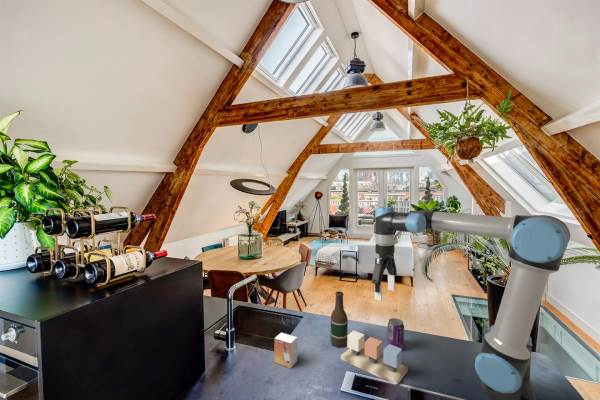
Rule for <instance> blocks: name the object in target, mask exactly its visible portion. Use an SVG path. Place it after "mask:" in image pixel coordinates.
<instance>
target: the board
mask: <svg viewBox="0 0 600 400" xmlns="http://www.w3.org/2000/svg"><path fill="white" fill-rule="evenodd" d="M364 352H365V347H363V348H362V349H361V350H360V351H359V352H357V351H355V350H353V349H350V348H348V349H347V350H346V351H345V352H343V353H342V354H341V355H340V360H341V361H344V362H346V363H348V364H350V365H352V366H355V367H356V368H358V369H361V370H363V371H365V372H367V373H369V374H371V375H373V376H376V377H377V378H379V379H382V378H383V379H382V380H384V379H386V380H388V381H390V382H392V383H395V384H399V383H400V382H401V381H402V379H403V378H404V377H405V375H406V374H407V372H408V369H409V368H408V367H409V366H407V365H404V364H402V363H400V365H399V366H398V367H397V368H394V367H392V366H390V365H387V364H385V363H383V356H382V355H381V356H380V357H379V358H378V359H377V360H376V359H373V358H371V357H369V356H367V355H364ZM386 380H385V381H386ZM388 381H387V382H388ZM390 382H389V383H390ZM392 383H391V384H392Z"/></svg>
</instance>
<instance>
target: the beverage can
mask: <svg viewBox="0 0 600 400" xmlns="http://www.w3.org/2000/svg"><path fill="white" fill-rule="evenodd" d="M386 342H387V343H386V346H388V345H389V344H390V345H393V346H396V347H398V348H401V349H402V350H404V348H405V324H404V321H403V320H401V319H399V318H396V317H395V318H394V317H393V318H392V317H391V318H389V320H388V323H387V339H386Z"/></svg>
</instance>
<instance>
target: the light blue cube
mask: <svg viewBox="0 0 600 400" xmlns="http://www.w3.org/2000/svg"><path fill="white" fill-rule="evenodd" d="M382 354H383V363H385V364H387V365H390V366H392V367H394V368H397V367H398V366H399V365H400V364H402V363H403V358H402V357H403V349H401V348H398V347H396V346H393V345H390V344H389V345H386V346H385V347H384V348H383V349H382Z"/></svg>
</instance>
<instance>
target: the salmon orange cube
mask: <svg viewBox="0 0 600 400" xmlns="http://www.w3.org/2000/svg"><path fill="white" fill-rule="evenodd" d="M364 349H365V352H364V355H367V356H369V357H371V358H373V359H376V360H377V359H378V358H379V357H380V356H382V354H383V341H382V340H380V339H377V338H374V337H372V336H370V337H368V339H366V340H364Z"/></svg>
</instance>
